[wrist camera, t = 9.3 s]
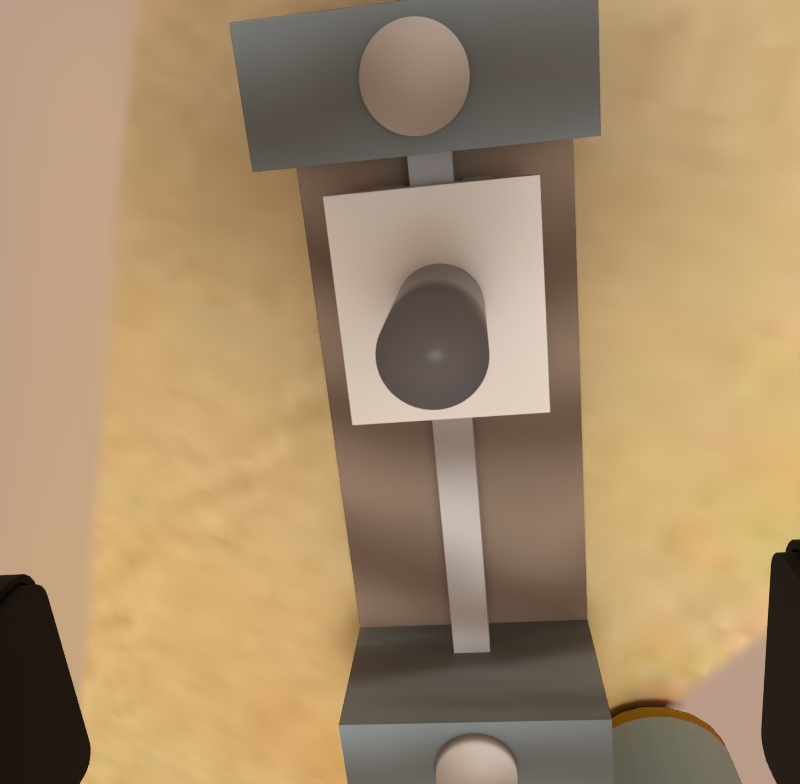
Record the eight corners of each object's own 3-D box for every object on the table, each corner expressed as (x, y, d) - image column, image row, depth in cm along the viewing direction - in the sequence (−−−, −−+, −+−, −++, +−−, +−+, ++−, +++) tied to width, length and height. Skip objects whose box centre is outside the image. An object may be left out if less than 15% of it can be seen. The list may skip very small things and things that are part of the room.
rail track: (289, 52, 28) (222, 19, 20) (563, 18, 27) (601, -30, 19) (374, 678, 37) (349, 821, 29) (584, 673, 36) (616, 819, 28)
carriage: (338, 190, 28) (279, 213, 19) (531, 170, 27) (561, 185, 18) (364, 396, 30) (321, 500, 22) (541, 384, 29) (572, 487, 21)
